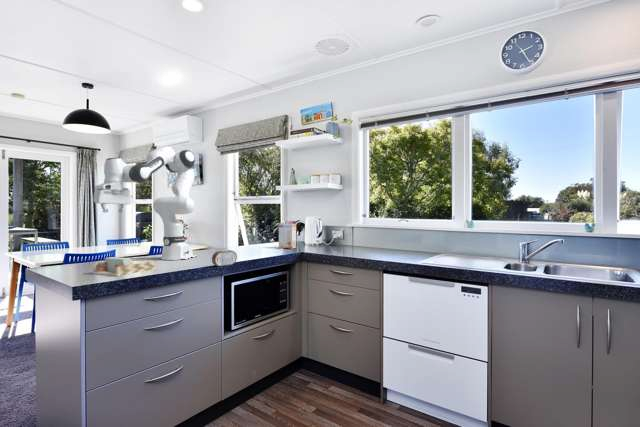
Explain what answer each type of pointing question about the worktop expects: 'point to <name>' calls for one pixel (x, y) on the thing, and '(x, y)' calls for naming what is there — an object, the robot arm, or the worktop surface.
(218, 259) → the tin
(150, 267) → the track
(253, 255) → the worktop surface
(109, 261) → the slider
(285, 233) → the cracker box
